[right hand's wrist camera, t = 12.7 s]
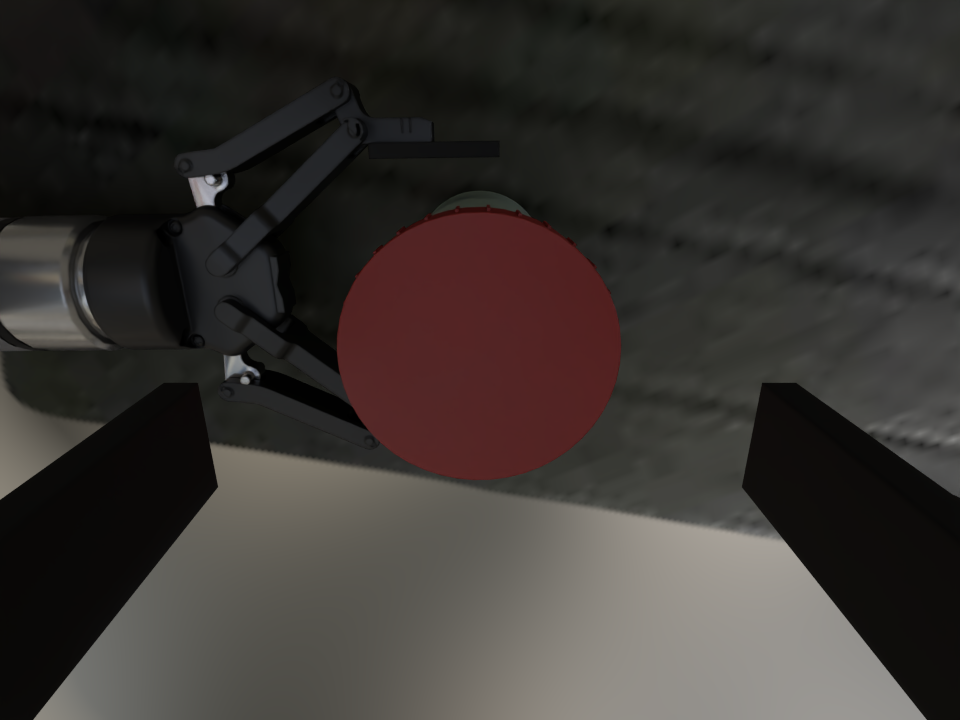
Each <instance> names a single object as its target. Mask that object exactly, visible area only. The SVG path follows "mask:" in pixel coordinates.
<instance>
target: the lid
mask: <svg viewBox="0 0 960 720" xmlns="http://www.w3.org/2000/svg"><path fill="white" fill-rule="evenodd" d="M396 234H397V235H396V236H395V237H394V238H392V239H391V240H390V241H389V242H388V243H387V244H385V245H384V246H383V245H381V246H380V247H379V248H377V249H376V250H375V251H374V252H373V254H374V256H373V257H372V258H371V259H370V261H369V262H368V263H367V264H366V265H365V266H364V267H363V269H362V270H361V271H360V272H359V273H358V274H357V275H356V276H355V278H356V280H355V281H354V283H353V284H352V287H351V289H350V291H349V293H348V295H347V297H346V299H345V301H344V303H343V304H344V306H343V309H342V312H341V315H340V320H339V327H338V333H337V357H338V365H339V371H340V375H341V379H342V383H343V386H344V389H345V391H346V394H347V396H348V398H349V401H350V403H351V405H352V407H353V408H354V410H355V412H356V413H357V415H358V417H359V418H360V420H361V421H362V422H363V424H364V425H365V426H366V427H367V429H368V430H369V431H370V432H371V433H372V434H373V435H374V436H375V437H376V438H377V439H378V440H379V441H380V442H381V443H382V444H383V445H384V446H385V447H387V448H388V449H389V450H390V451H392V452H393V453H394V454H396V455H397V456H399V457H401V458H402V459H404V460H406V461H407V462H409V463H411V464H413V465H415V466H418V467H420V468H422V469H424V470H427V471H430V472H433V473H436V474H439V475H443V476H448V477H453V478H459V479H470V480H491V479H498V478H506V477H511V476H515V475H518V474H522V473H526V472H528V471H531V470H534V469H536V468H539V467H541V466H543V465H545V464H547V463H549V462H551V461H553V460H554V459H556V458H558V457H559V456H560V455H562V454H563V453H565V452H566V451H568V450H569V449H570V448H572V447H573V446H574V445H575V444H576V443H577V442H578V441H580V440H581V439H582V438H583V437H584V435H585V434H586V433H587V432H588V431H589V430H590V429H591V428H592V427H593V425H594V424H595V422H596V421H597V419H598V418H599V417H600V415H601V414H602V412H603V410H604V408H605V406H606V404H607V403H608V401H609V399H610V397H611V394H612V391H613V388H614V386H615V383H616V380H617V375H618V370H619V365H620V355H621V337H620V326H619V320H618V317H617V312H616V309H615V306H614V303H613V301H612V298H611V295H610V294H611V292H610V291H609V290H608V289H607V287H606V285H605V284H604V282H603V280H602V278H601V276H600V275H599V274H598V272H597V271H596V270H595V269H596V268H597V267H596V266H595V265H594V264H593V263H592V262H591V261H590V260H589V259H588V258H587V259H586V257H585V256H584V255H583V254H582V253H581V252H580V251H579V250H578V249H577V248H576V247H575V246H576V244H575V243H574V242H573V241H572V240H571V239H570V238H569V237H568V238H567V239H566V238H564V237H563V236H562V235H561V234H559V233H558V232H557V231H555V230H554V229H553V228H551V226H550V225H549V224H548V223H547V222H546V221H543V223H542V222H540V221H538V220H536V219H534V218H531V217H529V216H526V215H524V214H522V213H521V212H520V211H519V210H516V212H514V211H510V210H506V209H500V208H491V207H490V205H487V207H465V208H460V206H456V208H455V209H453V210H447V211H444V212H441V213H437V214H434V215H431V213H429V214H427V216H426V217H425V218H424V219H422V220H420V221H418V222H416V223H414V224H412V225H410V226H409V227H407V228H405V227H402V228H401V229H400V230H399V231H398V232H397V233H396Z"/></svg>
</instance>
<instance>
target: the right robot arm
mask: <svg viewBox="0 0 960 720" xmlns="http://www.w3.org/2000/svg"><path fill="white" fill-rule="evenodd" d="M217 488H218V484H217V479H216V474H215V469H214V464H213V459H212V454H211V448H210V443H209V438H208V433H207V428H206V423H205V418H204V412H203V407H202V402H201V397H200V392H199V387H198V383H163V384H162V385H160V386H159V387H158V388H156V389H155V390H153V391H152V392H151V393H149V394H148V395H146V396H145V397H144V398H142V399H141V400H139V401H138V402H137V403H135V404H134V405H132V406H131V407H130V408H128V409H127V410H125V411H124V412H123V413H121V414H120V415H118V416H117V417H116V418H114V419H113V420H111V421H110V422H109V423H107V424H106V425H104V426H103V427H102V428H100V429H99V430H97V431H96V432H95V433H93V434H92V435H90V436H89V437H88V438H86V439H85V440H83V441H82V442H81V443H79V444H78V445H76V446H75V447H74V448H72V449H71V450H69V451H68V452H67V453H65V454H64V455H62V456H61V457H60V458H58V459H57V460H55V461H54V462H53V463H51V464H50V465H48V466H47V467H46V468H44V469H43V470H41V471H40V472H39V473H37V474H36V475H34V476H33V477H32V478H30V479H29V480H27V481H26V482H25V483H23V484H22V485H20V486H19V487H18V488H16V489H15V490H13V491H12V492H11V493H9V494H8V495H6V496H5V497H4V498H2V499H1V500H0V720H33V719H34V718H35V717H36V715H37V714H38V713H39V712H40V710H41V709H42V708H43V707H44V705H45V704H46V703H47V702H48V700H49V699H50V698H51V697H52V695H53V694H54V693H55V691H56V690H57V689H58V688H59V686H60V685H61V684H62V683H63V681H64V680H65V679H66V678H67V676H68V675H69V674H70V673H71V671H72V670H73V669H74V668H75V666H76V665H77V664H78V663H79V661H80V660H81V659H82V658H83V656H84V655H85V654H86V653H87V651H88V650H89V649H90V647H91V646H92V645H93V644H94V642H95V641H96V640H97V639H98V637H99V636H100V635H101V634H102V632H103V631H104V630H105V629H106V627H107V626H108V625H109V624H110V622H111V621H112V620H113V618H114V617H115V616H116V615H117V614H118V612H119V611H120V610H121V608H122V607H123V606H124V605H125V603H126V602H127V601H128V600H129V598H130V597H131V596H132V595H133V593H134V592H135V591H136V590H137V588H138V587H139V586H140V585H141V583H142V582H143V581H144V580H145V578H146V577H147V576H148V575H149V573H150V572H151V571H152V569H153V568H154V567H155V566H156V564H157V563H158V562H159V561H160V559H161V558H162V557H163V556H164V554H165V553H166V552H167V551H168V549H169V548H170V547H171V546H172V544H173V543H174V542H175V541H176V539H177V538H178V537H179V535H180V534H181V533H182V532H183V530H184V529H185V528H186V527H187V525H188V524H189V523H190V522H191V520H192V519H193V518H194V517H195V515H196V514H197V513H198V512H199V510H200V509H201V508H202V507H203V505H204V504H205V503H206V501H207V500H208V499H209V498H210V496H211V495H212V494H213V493H214V491H215V490H216V489H217ZM742 488H743V489H744V490H745V491H746V493H747V494H748V495H749V496H750V498H751V499H752V500H753V502H754V503H755V504H756V505H757V507H758V508H759V509H760V510H761V512H762V513H763V514H764V515H765V517H766V518H767V519H768V520H769V522H770V523H771V524H772V525H773V527H774V528H775V529H776V530H777V532H778V533H779V534H780V536H781V537H782V538H783V539H784V541H785V542H786V543H787V544H788V546H789V547H790V548H791V549H792V551H793V552H794V553H795V554H796V556H797V557H798V558H799V559H800V561H801V562H802V563H803V564H804V566H805V567H806V568H807V569H808V571H809V572H810V573H811V574H812V576H813V577H814V578H815V579H816V581H817V582H818V583H819V584H820V586H821V587H822V588H823V590H824V591H825V592H826V593H827V595H828V596H829V597H830V598H831V600H832V601H833V602H834V603H835V605H836V606H837V607H838V608H839V610H840V611H841V612H842V614H843V615H844V616H845V617H846V619H847V620H848V621H849V622H850V624H851V625H852V626H853V627H854V629H855V630H856V631H857V632H858V634H859V635H860V636H861V637H862V639H863V640H864V641H865V642H866V644H867V645H868V646H869V647H870V649H871V650H872V651H873V653H874V654H875V655H876V656H877V658H878V659H879V660H880V661H881V663H882V664H883V665H884V666H885V668H886V669H887V670H888V671H889V673H890V674H891V675H892V676H893V678H894V679H895V680H896V681H897V683H898V684H899V685H900V687H901V688H902V689H903V690H904V692H905V693H906V694H907V695H908V697H909V698H910V699H911V700H912V702H913V703H914V704H915V705H916V707H917V708H918V709H919V710H920V712H921V713H922V714H923V715H924V717H925V718H926V719H927V720H960V498H959V497H957V496H955V495H952V494H951V493H949V492H948V491H947V490H945V489H944V488H942V487H941V486H940V485H938V484H937V483H935V482H934V481H933V480H931V479H930V478H928V477H927V476H926V475H924V474H923V473H921V472H920V471H919V470H917V469H916V468H914V467H913V466H912V465H910V464H909V463H907V462H906V461H905V460H903V459H902V458H900V457H899V456H898V455H896V454H895V453H893V452H892V451H891V450H889V449H888V448H886V447H885V446H884V445H882V444H881V443H879V442H878V441H877V440H875V439H874V438H872V437H871V436H870V435H868V434H867V433H865V432H864V431H863V430H861V429H860V428H858V427H857V426H856V425H854V424H853V423H851V422H850V421H849V420H847V419H846V418H844V417H843V416H842V415H840V414H839V413H837V412H836V411H835V410H833V409H832V408H830V407H829V406H828V405H826V404H825V403H823V402H822V401H821V400H819V399H818V398H816V397H815V396H814V395H812V394H811V393H809V392H808V391H807V390H805V389H804V388H802V387H801V386H800V385H798V384H797V383H762V387H761V392H760V397H759V402H758V407H757V412H756V418H755V423H754V428H753V433H752V438H751V443H750V448H749V454H748V459H747V464H746V469H745V474H744V479H743V484H742Z"/></svg>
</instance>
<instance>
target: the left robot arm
mask: <svg viewBox="0 0 960 720" xmlns="http://www.w3.org/2000/svg"><path fill="white" fill-rule="evenodd" d="M337 117H338V120H339V122H340V124H341V126H340V127H339V128H338V129H337V130H336V131H335V132H334V133H333V134H332V135H331V136H330V137H329V138H328V139H327V140H326V141H325V142H324V143H323V144H322V145H321V146H320V147H319V148H318V149H317V150H316V151H315V152H314V153H313V154H312V155H311V156H310V157H309V158H308V159H307V160H306V161H305V162H304V163H303V164H302V165H301V167H300V168H299V169H298V170H297V171H296V172H295V173H294V174H293V175H292V176H291V177H290V178H289V179H288V180H287V181H286V182H285V183H284V184H283V185H282V186H281V187H280V188H279V189H278V190H277V191H276V192H275V193H274V194H273V195H272V196H271V197H270V198H269V199H268V200H267V201H266V202H265V203H264V204H263V205H262V206H261V207H260V208H258V209H256V210H255V211H254V212H253V213H252V214H251V215H250V216H249V217H248V218H247V219H246V218H245V217H243V216H242V215H240V214H239V213H237V212H236V211H234V210H233V209H231V208H230V207H228V206H226V205H223V204H222V195H223V193H224V192H225V191H227V190H229V189H231V188H232V187H233V186H234V184H235V176H234V173H238V172H242V171H245V170H248V169H250V168H252V167H254V166H256V165H257V164H259V163H261V162H262V161H264V160H266V159H268V158H269V157H271V156H273V155H274V154H276V153H278V152H279V151H281V150H283V149H284V148H286V147H288V146H290V145H291V144H293V143H295V142H296V141H298V140H300V139H301V138H303V137H305V136H306V135H308V134H310V133H312V132H313V131H315V130H317V129H318V128H320V127H322V126H323V125H325V124H327V123H329V122H330V121H332V120H334V119H335V118H337ZM367 146H368V150H369V159H390V158H464V157H499V141H450V142H434V123H433V122H431V121H429V120H427V119H424V118H422V117H404V118H372V117H370V116H369V115H368V114H367V113H366V111H365V109H364V107H363V104H362V102H361V99H360V94H359V91H358V89H357V88H356V87H355V86H354V85H352V84H351V83H349V82H347V81H345V80H343V79H342V78H340V77H333V78H330V79H329V80H327V81H325V82H324V83H322V84H320V85H319V86H317V87H315V88H314V89H312V90H310V91H309V92H307V93H305V94H304V95H302V96H300V97H299V98H297V99H296V100H294V101H292V102H291V103H289V104H287V105H286V106H284V107H282V108H281V109H279V110H277V111H276V112H274V113H272V114H271V115H269V116H267V117H266V118H264V119H262V120H261V121H259V122H258V123H256V124H254V125H253V126H251V127H249V128H248V129H246V130H244V131H243V132H241V133H239V134H238V135H236V136H234V137H233V138H231V139H229V140H228V141H226V142H224V143H223V144H221V145H220V146H218V147H216V148H215V149H208V150H201V151H194V152H186V153H181V154H178V155H177V156H176V157H175V160H174V168H175V170H176V172H177V173H178V174H179V175H180V176H182V177H184V178H188V179H189V183H190V186H191V190H192V193H193V196H194V200H195V203H196V206H197V208H196V209H194V210H193V211H191V212H190V213H187V214H133V215H115V216H112V217H107V216H104V215H61V216H26V217H12V218H0V351H30V350H44V351H46V350H119V349H122V348H127V349H132V350H150V349H198V348H207V349H211V350H214V351H217V352H219V353H221V354H223V355H224V365H225V381H224V382H223V383H222V384H220V386H219V387H218V394H219V396H220V397H221V398H222V399H224V400H226V401H231V402H242V403H253V404H259V405H261V406H264V407H266V408H268V409H271V410H273V411H276V412H278V413H281V414H283V415H285V416H288V417H290V418H293V419H295V420H298V421H300V422H302V423H305V424H307V425H310V426H312V427H315V428H317V429H319V430H322V431H324V432H327V433H329V434H332V435H334V436H336V437H339V438H341V439H344V440H346V441H348V442H351V443H353V444H356V445H358V446H361V447H363V448H365V449H369V450H370V449H375V448H377V446H378V445H379V443H380V441H379V440H378V439H377V438H376V437H375V436H374V435H373V434H372V433H371V432H370V431H369V430H368V429H367V427H366V426H365V425H364V424H363V422H362V421H361V420H360V418H359V417H358V415H357V413H356V412H355V410H354V408H353V407H352V405H351V403H350V401H349V398H348V396H347V394H346V391H345V389H344V386H343V383H342V379H341V375H340V371H339V365H338V357H337V351H335V350H334V349H333V348H331V347H330V346H329V345H327V344H326V343H324V342H323V341H322V340H320V339H319V338H317V337H316V336H315V335H313V334H312V333H311V332H309V330H308V328H307V326H306V325H305V324H304V323H303V322H301V321H300V320H298V319H297V318H296V317H294V316H293V315H292V314H291V312H292V309H293V306H294V305H295V304H296V300H295V292H294V289H293V287H292V284H291V282H290V279H289V273H290V266H291V262H290V255H289V251H285V249H284V247H283V245H282V244H281V243H280V242H279V240H277V239H276V238H277V237H278V236H279V235H280V234H281V233H283V232H284V231H285V230H286V229H287V228H288V227H289V226H290V225H291V223H292V222H293V221H294V219H295V218H296V217H297V216H298V215H299V214H300V213H301V212H302V211H303V210H304V209H305V208H306V207H307V206H308V205H309V204H310V203H311V202H312V201H313V200H314V199H315V198H316V197H317V196H318V195H319V194H320V193H321V192H322V191H323V190H324V189H325V188H326V187H327V186H328V185H329V184H330V183H331V182H332V181H333V180H334V179H335V178H336V177H337V176H338V175H339V174H340V173H341V172H342V171H343V170H344V169H345V168H346V167H347V166H348V165H349V164H350V163H351V162H352V161H353V160H354V159H355V158H356V157H357V156H358V155H359V154H360V153H361V152H362V151H363V150H364V149H365V148H366V147H367ZM255 344H256V345H258V346H259V347H261V348H262V349H263V350H265V351H266V352H268V353H269V354H271V355H272V356H274V357H275V358H278V359H284V360H286V361H288V362H289V363H291V364H292V365H294V366H295V367H296V368H298V369H299V370H301V371H302V372H304V373H305V374H306V375H308V376H309V377H311V378H312V379H314V380H315V381H316V382H318V383H319V384H321V385H322V386H323V387H325V388H326V389H328V390H329V391H331V392H332V393H333V394H335V395H336V396H338V397H336V396H334V395H332V394H329V393H327V392H325V391H322V390H320V389H317V388H315V387H313V386H310V385H308V384H306V383H303V382H301V381H299V380H296V379H294V378H292V377H289V376H287V375H284V374H282V373H279V372H275V371H271V370H265V365H264V364H263V363H262V362H257V361H254V360H252V359H251V358H250V357H249V356H248V354H247V351H248V350H249V349H250V348H251V347H253V346H254V345H255Z"/></svg>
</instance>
